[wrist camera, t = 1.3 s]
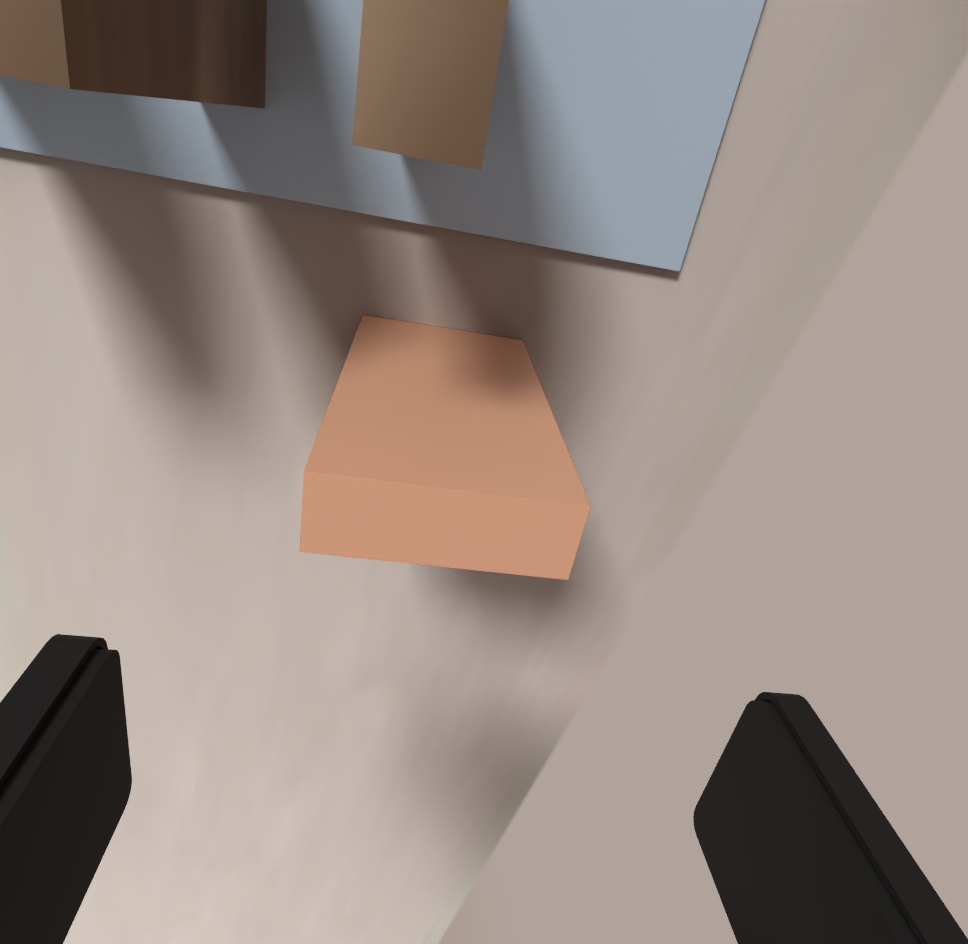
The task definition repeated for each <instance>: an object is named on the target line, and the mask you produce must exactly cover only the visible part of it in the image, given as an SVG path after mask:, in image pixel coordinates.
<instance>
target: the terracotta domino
mask: <svg viewBox="0 0 968 944" xmlns="http://www.w3.org/2000/svg"><path fill="white" fill-rule="evenodd" d="M589 510H590V503H589V501H588V498H587V496H586V494H585V491H584V489H583V486H582V484H581V481H580V479H579V477H578V474H577V472H576V469H575V467H574V464H573V462H572V459H571V457H570V455H569V452H568V450H567V447H566V445H565V442H564V440H563V437H562V435H561V433H560V430H559V428H558V425H557V423H556V420H555V418H554V416H553V413H552V411H551V408H550V406H549V403H548V401H547V398H546V396H545V394H544V391H543V389H542V386H541V384H540V381H539V379H538V377H537V374H536V372H535V369H534V367H533V364H532V362H531V359H530V357H529V355H528V352H527V350H526V347H525V345H524V342H523V340H518V339H512V338H505V337H499V336H493V335H487V334H480V333H474V332H468V331H462V330H455V329H449V328H443V327H437V326H430V325H424V324H418V323H412V322H405V321H399V320H393V319H387V318H380V317H374V316H368V315H363V316H362V319H361V321H360V324H359V326H358V329H357V332H356V334H355V337H354V340H353V342H352V345H351V348H350V350H349V353H348V356H347V358H346V361H345V364H344V366H343V369H342V372H341V374H340V377H339V380H338V382H337V385H336V387H335V390H334V393H333V395H332V398H331V401H330V403H329V406H328V409H327V411H326V414H325V417H324V419H323V422H322V425H321V427H320V430H319V433H318V435H317V438H316V441H315V443H314V446H313V449H312V451H311V454H310V456H309V459H308V462H307V464H306V467H305V470H304V481H303V499H302V517H301V534H300V552H306V553H315V554H325V555H334V556H344V557H353V558H363V559H373V560H382V561H392V562H401V563H411V564H420V565H430V566H439V567H449V568H458V569H468V570H477V571H487V572H496V573H506V574H515V575H525V576H534V577H544V578H553V579H563V580H568V579H569V576H570V572H571V569H572V566H573V563H574V559H575V556H576V553H577V549H578V546H579V543H580V539H581V536H582V533H583V530H584V526H585V523H586V520H587V516H588V513H589Z"/></svg>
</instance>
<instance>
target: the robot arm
mask: <svg viewBox="0 0 968 944" xmlns="http://www.w3.org/2000/svg"><path fill="white" fill-rule="evenodd" d="M131 784H132V776H131V766H130V756H129V746H128V736H127V726H126V715H125V705H124V695H123V685H122V675H121V665H120V656H119V653H118V651H117V650H108V648H107V643H106V641H105V640H104V638H96V637H84V636H72V635H60V634H57V635H55V636H53V637H52V638H51V639H50V640H49V641H48V642H47V643H46V644H45V645H44V647H43V648H42V649H41V651H40V652H39V653H38V654H37V656H36V657H35V658H34V660H33V661H32V662H31V664H30V665H29V666H28V668H27V669H26V670H25V671H24V673H23V674H22V675H21V677H20V678H19V679H18V681H17V682H16V683H15V684H14V686H13V687H12V688H11V690H10V691H9V692H8V694H7V695H6V696H5V697H4V699H3V700H2V701H1V703H0V944H63V942H64V940H65V938H66V935H67V933H68V931H69V929H70V927H71V925H72V922H73V920H74V918H75V916H76V914H77V912H78V909H79V907H80V905H81V903H82V901H83V898H84V896H85V894H86V892H87V890H88V888H89V885H90V883H91V881H92V879H93V877H94V875H95V872H96V870H97V868H98V866H99V864H100V862H101V859H102V857H103V855H104V853H105V851H106V848H107V846H108V844H109V842H110V840H111V838H112V835H113V833H114V831H115V829H116V827H117V825H118V822H119V820H120V818H121V816H122V814H123V812H124V809H125V807H126V804H127V802H128V798H129V795H130V790H131ZM694 828H695V832H696V835H697V838H698V840H699V843H700V846H701V848H702V851H703V854H704V856H705V859H706V861H707V864H708V867H709V869H710V872H711V874H712V877H713V880H714V882H715V885H716V888H717V890H718V893H719V895H720V898H721V900H722V903H723V906H724V908H725V911H726V914H727V916H728V919H729V921H730V924H731V926H732V929H733V932H734V935H735V937H736V940H737V942H738V944H968V939H967V937H966V936H965V935H964V933H963V931H962V930H961V928H960V927H959V926H958V924H957V923H956V921H955V920H954V918H953V917H952V915H951V914H950V912H949V911H948V909H947V908H946V906H945V905H944V903H943V902H942V900H941V899H940V897H939V896H938V894H937V893H936V891H935V890H934V889H933V887H932V885H931V884H930V882H929V881H928V880H927V878H926V877H925V875H924V874H923V872H922V871H921V869H920V868H919V866H918V865H917V863H916V862H915V860H914V859H913V857H912V856H911V854H910V853H909V851H908V850H907V848H906V847H905V845H904V844H903V842H902V841H901V839H900V838H899V836H898V835H897V833H896V832H895V830H894V829H893V827H892V826H891V824H890V823H889V821H888V820H887V819H886V817H885V816H884V814H883V813H882V811H881V810H880V808H879V807H878V805H877V804H876V802H875V801H874V799H873V798H872V796H871V795H870V793H869V792H868V790H867V789H866V787H865V786H864V784H863V783H862V781H861V780H860V778H859V777H858V775H857V774H856V773H855V771H854V769H853V768H852V766H851V765H850V764H849V762H848V761H847V759H846V758H845V756H844V755H843V753H842V752H841V750H840V749H839V748H838V746H837V744H836V743H835V741H834V740H833V738H832V737H831V735H830V734H829V732H828V731H827V729H826V728H825V726H824V725H823V723H822V722H821V721H820V719H819V718H818V716H817V714H816V713H815V712H814V710H813V709H812V707H811V706H810V704H809V703H808V702H807V700H806V699H805V698H804V697H802V696H800V695H795V694H783V693H769V692H762V693H761V694H759V695H758V696H757V698H756V699H755V701H751V702H749V703H748V704H747V706H746V707H745V710H744V711H743V713H742V715H741V717H740V719H739V721H738V723H737V726H736V728H735V729H734V732H733V734H732V735H731V738H730V739H729V742H728V743H727V745H726V748H725V750H724V752H723V754H722V755H721V757H720V759H719V761H718V763H717V766H716V767H715V769H714V772H713V774H712V775H711V777H710V779H709V781H708V783H707V786H706V787H705V789H704V791H703V793H702V795H701V797H700V800H699V801H698V803H697V805H696V808H695V811H694Z"/></svg>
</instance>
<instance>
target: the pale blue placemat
mask: <svg viewBox="0 0 968 944" xmlns="http://www.w3.org/2000/svg"><path fill="white" fill-rule="evenodd" d="M764 2H765V0H509V2H508V8H507V14H506V20H505V26H504V33H503V39H502V45H501V51H500V57H499V63H498V69H497V76H496V82H495V88H494V94H493V100H492V106H491V112H490V119H489V125H488V131H487V137H486V143H485V149H484V155H483V162H482V168H481V170H476V169H471V168H466V167H461V166H456V165H451V164H446V163H441V162H436V161H431V160H426V159H421V158H416V157H411V156H405V155H400V154H395V153H390V152H385V151H380V150H375V149H370V148H365V147H360V146H355V145H352V141H353V128H354V115H355V102H356V89H357V75H358V62H359V49H360V36H361V23H362V10H363V0H267V27H266V80H265V109H264V108H254V107H244V106H234V105H224V104H214V103H203V102H193V101H183V100H173V99H163V98H153V97H143V96H133V95H123V94H113V93H103V92H93V91H83V90H73V89H67V88H62V87H57V86H51V85H46V84H41V83H36V82H31V81H26V80H21V79H16V78H11V77H6V76H1V75H0V147H2V148H7V149H13V150H18V151H23V152H29V153H34V154H40V155H45V156H51V157H56V158H62V159H67V160H73V161H78V162H84V163H89V164H95V165H100V166H106V167H111V168H116V169H122V170H127V171H133V172H138V173H144V174H149V175H155V176H160V177H166V178H171V179H177V180H182V181H188V182H193V183H199V184H204V185H209V186H215V187H220V188H226V189H231V190H237V191H242V192H248V193H253V194H259V195H264V196H270V197H275V198H281V199H286V200H292V201H297V202H302V203H308V204H313V205H319V206H324V207H330V208H335V209H341V210H346V211H352V212H357V213H363V214H368V215H374V216H379V217H385V218H390V219H395V220H401V221H406V222H412V223H417V224H423V225H428V226H434V227H439V228H445V229H450V230H456V231H461V232H467V233H472V234H478V235H483V236H488V237H494V238H499V239H505V240H510V241H516V242H521V243H527V244H532V245H538V246H543V247H549V248H554V249H560V250H565V251H571V252H576V253H581V254H587V255H592V256H598V257H603V258H609V259H614V260H620V261H625V262H631V263H636V264H642V265H647V266H653V267H658V268H664V269H669V270H674V271H680V269H681V265H682V262H683V259H684V256H685V253H686V250H687V246H688V243H689V240H690V237H691V234H692V230H693V227H694V224H695V221H696V218H697V215H698V211H699V208H700V205H701V202H702V199H703V196H704V192H705V189H706V186H707V183H708V180H709V177H710V173H711V170H712V167H713V164H714V161H715V158H716V154H717V151H718V148H719V145H720V142H721V139H722V135H723V132H724V129H725V126H726V123H727V120H728V116H729V113H730V110H731V107H732V104H733V101H734V97H735V94H736V91H737V88H738V85H739V81H740V78H741V75H742V72H743V69H744V66H745V62H746V59H747V56H748V53H749V50H750V47H751V43H752V40H753V37H754V34H755V31H756V28H757V24H758V21H759V18H760V15H761V12H762V9H763V5H764Z"/></svg>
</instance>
